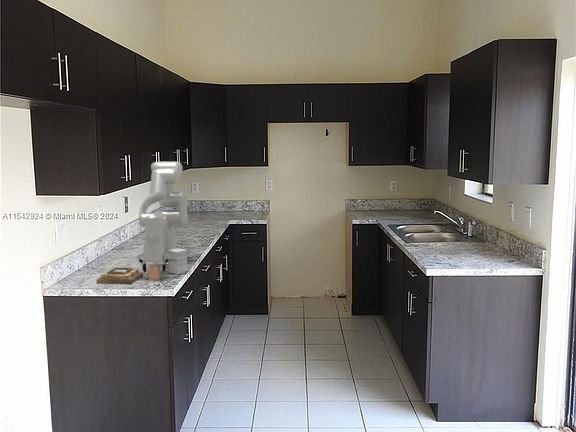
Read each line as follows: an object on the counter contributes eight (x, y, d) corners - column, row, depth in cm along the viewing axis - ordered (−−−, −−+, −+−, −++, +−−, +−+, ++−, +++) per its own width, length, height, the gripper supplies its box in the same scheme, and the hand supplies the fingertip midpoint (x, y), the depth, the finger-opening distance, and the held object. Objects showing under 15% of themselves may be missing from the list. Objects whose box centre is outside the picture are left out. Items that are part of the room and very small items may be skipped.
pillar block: (151, 277, 278) (150, 264, 277) (160, 277, 279) (160, 264, 278) (148, 279, 273) (148, 266, 272) (158, 279, 274) (158, 266, 273)
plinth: (110, 275, 283) (110, 266, 282) (143, 276, 281) (142, 266, 280) (96, 283, 267) (96, 273, 266) (130, 284, 265) (130, 274, 264)
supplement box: (168, 272, 288) (167, 250, 286) (178, 270, 294) (177, 247, 292) (178, 274, 284) (177, 251, 282) (187, 271, 290) (187, 249, 288)
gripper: (134, 240, 269) (135, 273, 271) (168, 240, 269) (169, 273, 272) (138, 238, 276) (139, 270, 279) (171, 237, 277) (172, 269, 279)
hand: (154, 271), depth 275 cm, fingers open, 9 cm apart
